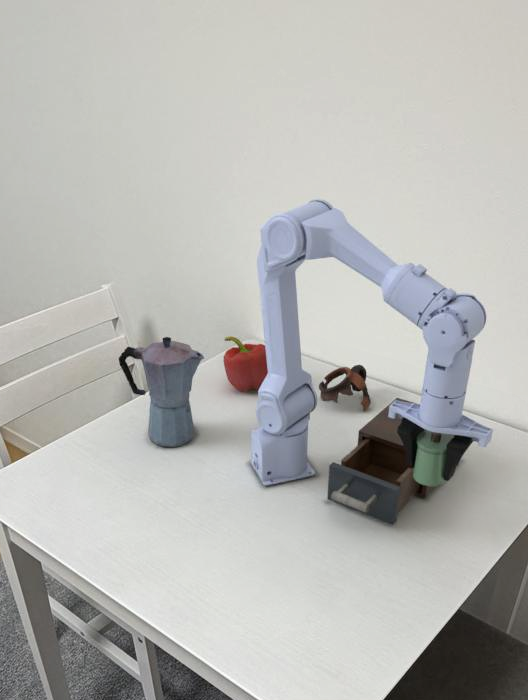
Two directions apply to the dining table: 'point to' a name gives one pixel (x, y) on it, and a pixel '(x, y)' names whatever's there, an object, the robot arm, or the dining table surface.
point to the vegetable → (245, 365)
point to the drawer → (373, 480)
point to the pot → (431, 458)
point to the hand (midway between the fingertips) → (430, 471)
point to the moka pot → (166, 388)
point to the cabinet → (389, 436)
